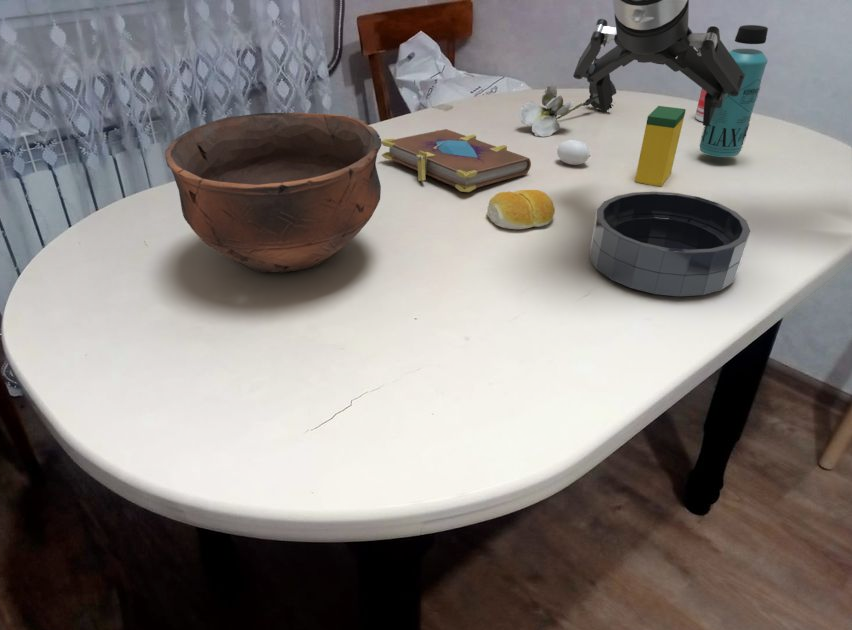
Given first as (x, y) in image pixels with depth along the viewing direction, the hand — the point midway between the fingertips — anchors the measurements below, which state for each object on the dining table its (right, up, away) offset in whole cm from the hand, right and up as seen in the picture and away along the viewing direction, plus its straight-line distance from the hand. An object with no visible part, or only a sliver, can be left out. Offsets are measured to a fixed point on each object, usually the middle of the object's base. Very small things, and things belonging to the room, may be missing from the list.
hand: (656, 109), depth 90 cm
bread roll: (-18, -15, +2) cm, 24 cm away
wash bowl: (-4, -23, -10) cm, 25 cm away
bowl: (-50, -21, -6) cm, 54 cm away
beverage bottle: (+17, -2, +18) cm, 25 cm away
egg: (-6, -2, +18) cm, 20 cm away
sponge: (+5, -6, +12) cm, 15 cm away
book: (-28, -3, +19) cm, 33 cm away
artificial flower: (-2, +11, +36) cm, 38 cm away
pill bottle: (+25, +11, +35) cm, 45 cm away
